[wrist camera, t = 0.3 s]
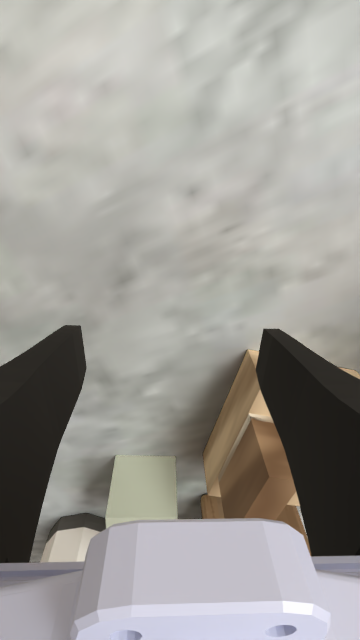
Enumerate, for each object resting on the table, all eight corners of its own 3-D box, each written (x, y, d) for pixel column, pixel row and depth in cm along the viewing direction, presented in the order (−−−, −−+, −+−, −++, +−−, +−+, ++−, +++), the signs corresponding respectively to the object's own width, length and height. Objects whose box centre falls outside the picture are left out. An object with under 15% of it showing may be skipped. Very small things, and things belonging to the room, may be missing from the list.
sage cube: (175, 455, 31) (177, 517, 26) (171, 491, 34) (172, 553, 28) (115, 454, 30) (105, 517, 25) (117, 491, 33) (108, 554, 28)
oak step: (355, 370, 26) (387, 407, 22) (292, 465, 32) (309, 507, 28) (247, 349, 25) (262, 384, 21) (202, 453, 31) (207, 495, 27)
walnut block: (276, 417, 23) (303, 481, 18) (242, 479, 26) (257, 545, 22) (248, 413, 22) (269, 476, 18) (217, 476, 26) (228, 542, 21)
